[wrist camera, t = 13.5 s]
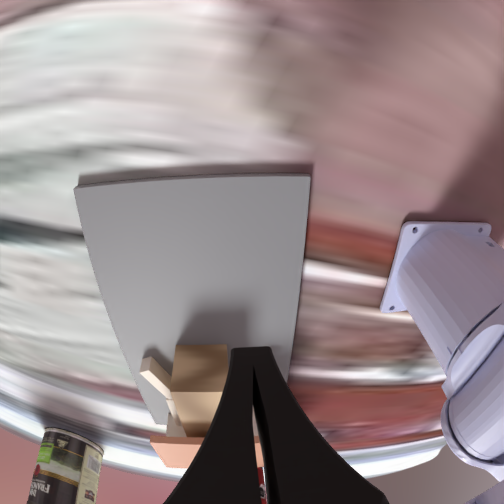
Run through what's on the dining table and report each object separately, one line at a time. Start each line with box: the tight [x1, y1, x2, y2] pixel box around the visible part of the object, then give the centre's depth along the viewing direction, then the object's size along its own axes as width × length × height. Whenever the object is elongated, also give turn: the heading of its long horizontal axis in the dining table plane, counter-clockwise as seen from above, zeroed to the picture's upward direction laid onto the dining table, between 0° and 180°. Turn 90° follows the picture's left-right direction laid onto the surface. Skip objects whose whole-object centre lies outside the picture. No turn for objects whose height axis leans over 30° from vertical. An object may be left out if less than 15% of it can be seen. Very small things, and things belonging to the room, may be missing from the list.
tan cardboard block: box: [170, 344, 229, 438], centre depth 24 cm, size 4×10×4 cm, turn 0°
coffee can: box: [27, 428, 104, 504], centre depth 30 cm, size 10×10×14 cm
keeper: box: [74, 173, 311, 468], centre depth 21 cm, size 14×27×7 cm, turn 0°
